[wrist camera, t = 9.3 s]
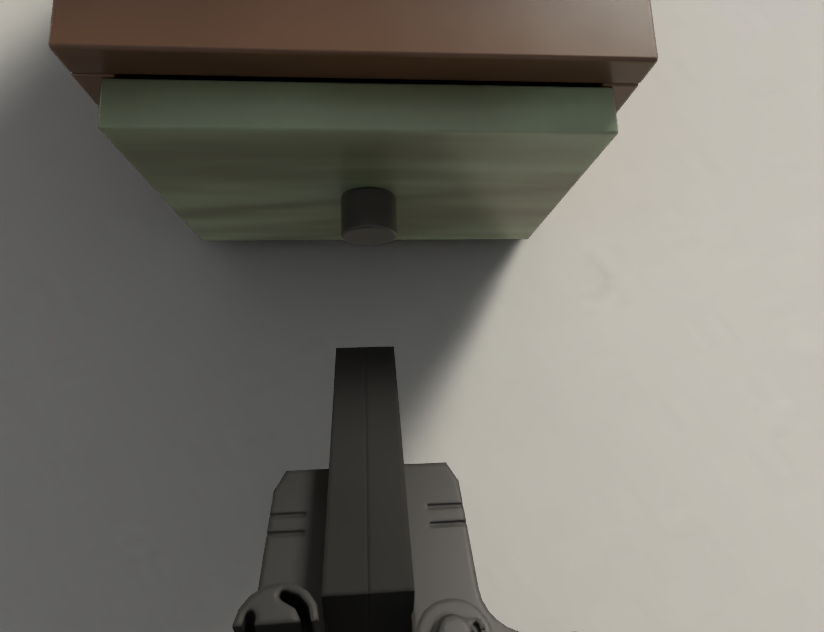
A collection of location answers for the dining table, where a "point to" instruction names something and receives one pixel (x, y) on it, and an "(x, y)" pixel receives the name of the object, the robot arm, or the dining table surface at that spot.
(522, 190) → the top drawer
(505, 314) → the dining table surface
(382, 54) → the cabinet
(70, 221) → the dining table surface
